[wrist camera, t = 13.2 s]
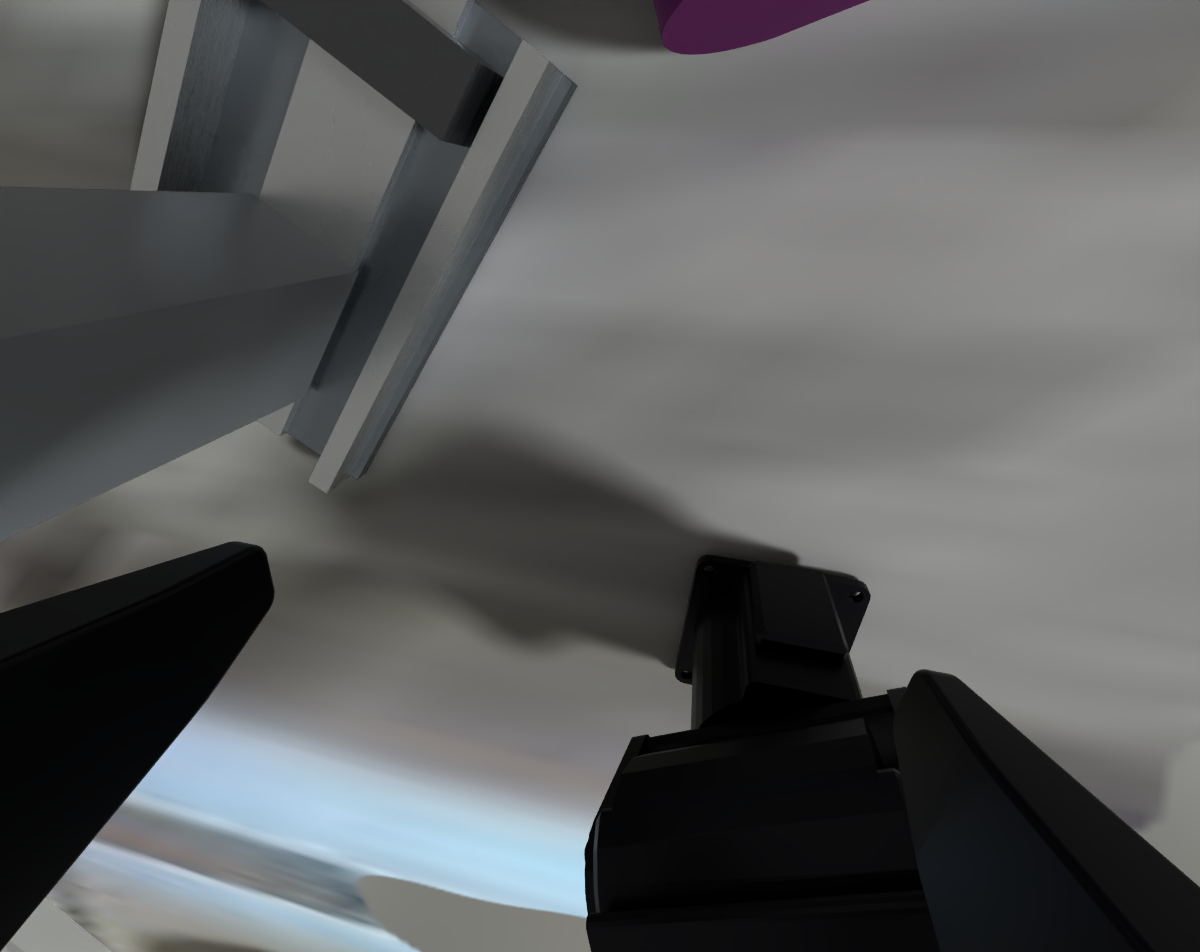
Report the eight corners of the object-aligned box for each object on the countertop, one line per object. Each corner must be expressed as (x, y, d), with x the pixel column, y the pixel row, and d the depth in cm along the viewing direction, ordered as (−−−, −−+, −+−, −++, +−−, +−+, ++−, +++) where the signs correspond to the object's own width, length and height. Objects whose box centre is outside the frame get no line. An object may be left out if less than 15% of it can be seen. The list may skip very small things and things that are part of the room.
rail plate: (269, -169, 15) (167, -256, 12) (577, 85, 16) (550, 60, 13) (146, 325, 22) (65, 342, 19) (365, 473, 23) (318, 509, 20)
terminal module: (359, 271, 18) (-234, 382, 7) (304, 397, 21) (-199, 636, 9) (223, 173, 18) (-681, 112, 6) (183, 315, 20) (-516, 461, 9)
